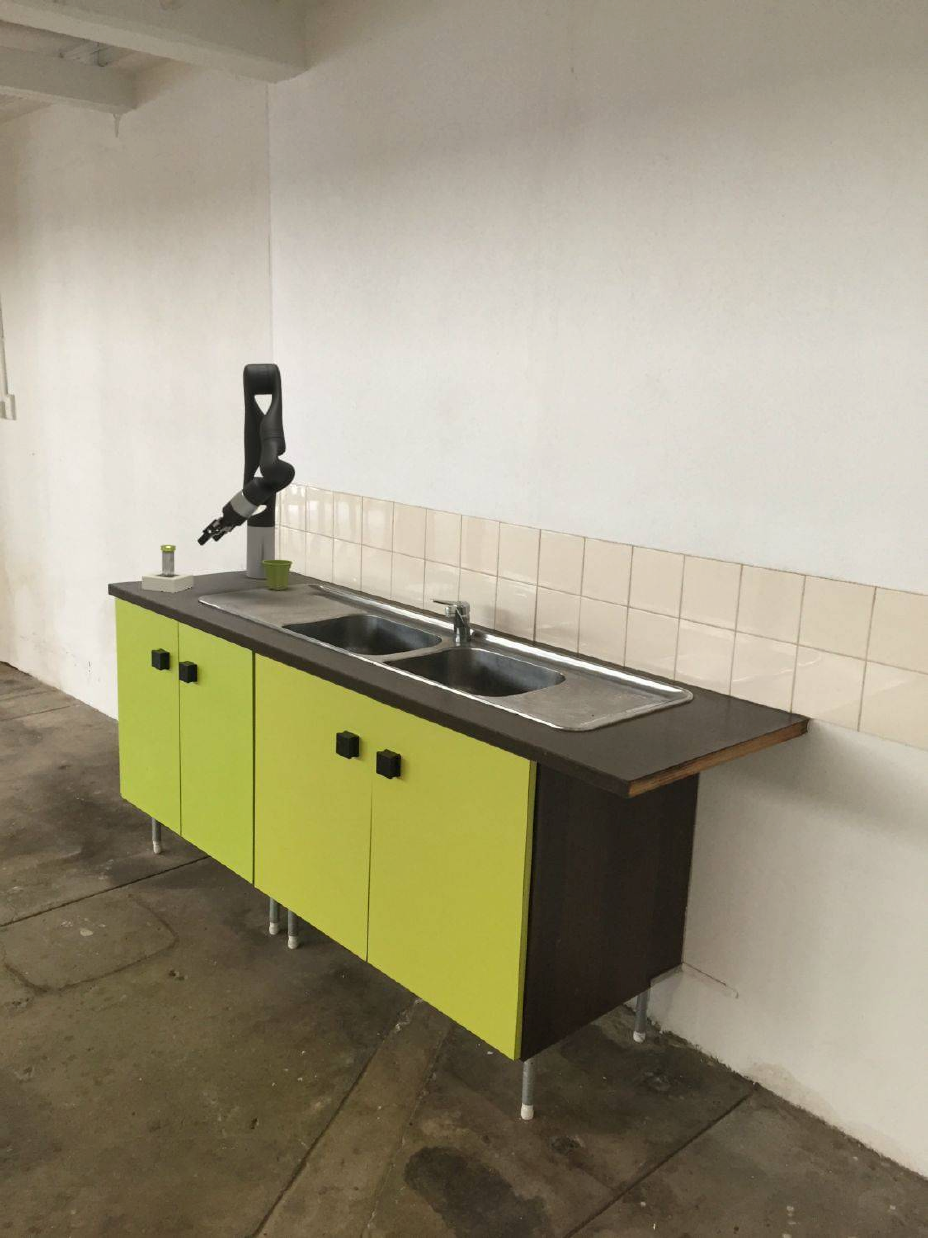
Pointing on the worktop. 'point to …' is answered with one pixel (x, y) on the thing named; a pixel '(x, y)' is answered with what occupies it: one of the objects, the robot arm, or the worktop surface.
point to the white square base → (167, 582)
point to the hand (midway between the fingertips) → (207, 541)
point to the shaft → (168, 560)
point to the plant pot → (277, 573)
